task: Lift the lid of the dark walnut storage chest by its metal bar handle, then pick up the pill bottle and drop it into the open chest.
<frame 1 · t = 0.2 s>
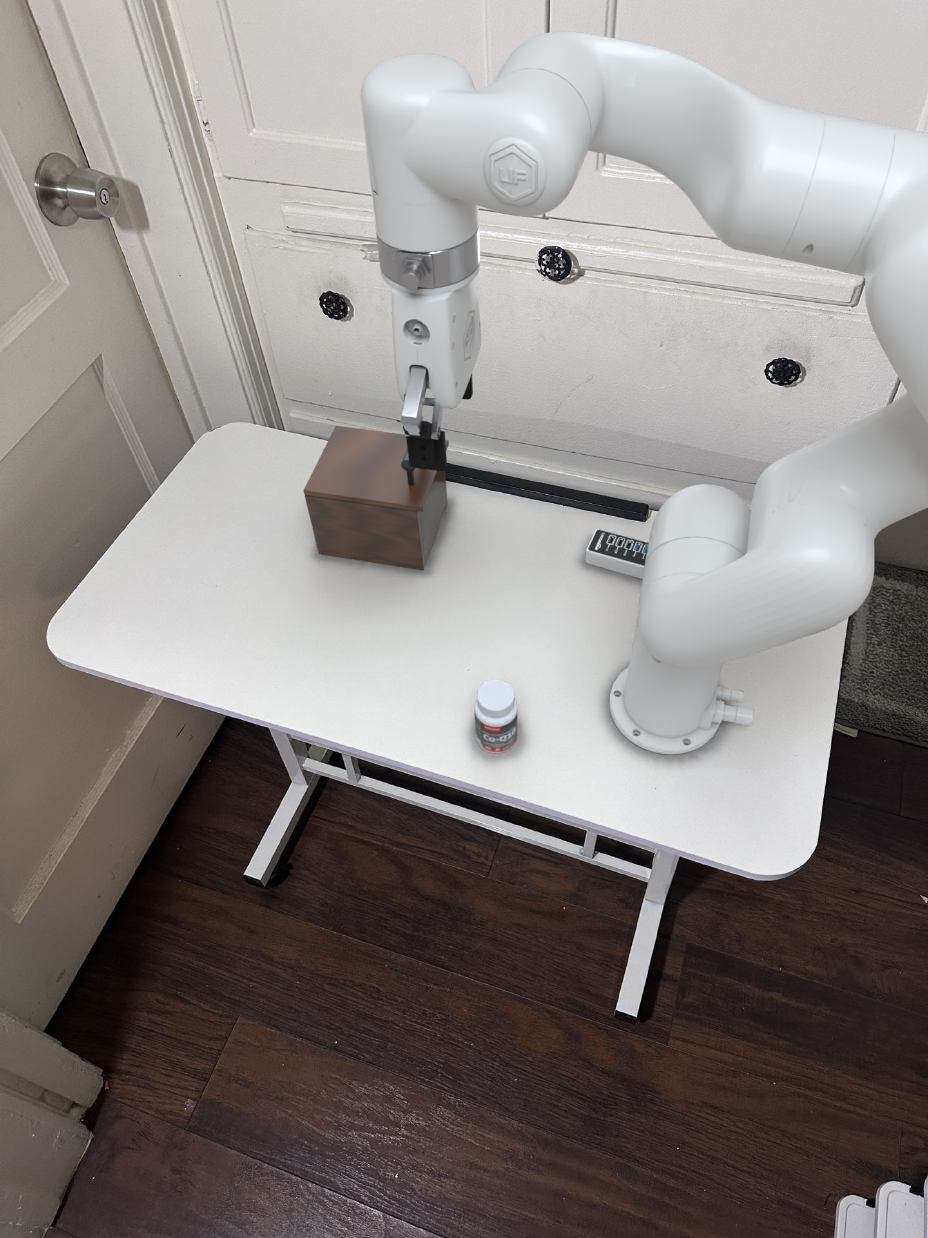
hand: (442, 430, 81), 37 cm above the table, tool pointing down, fingers open, 9 cm apart
multiport hub: (642, 566, 119), on the table
chest lid: (375, 454, 115), point 13 cm above the table, hinge at 0.0°
chest: (384, 528, 125), on the table
pill bottle: (496, 737, 104), on the table
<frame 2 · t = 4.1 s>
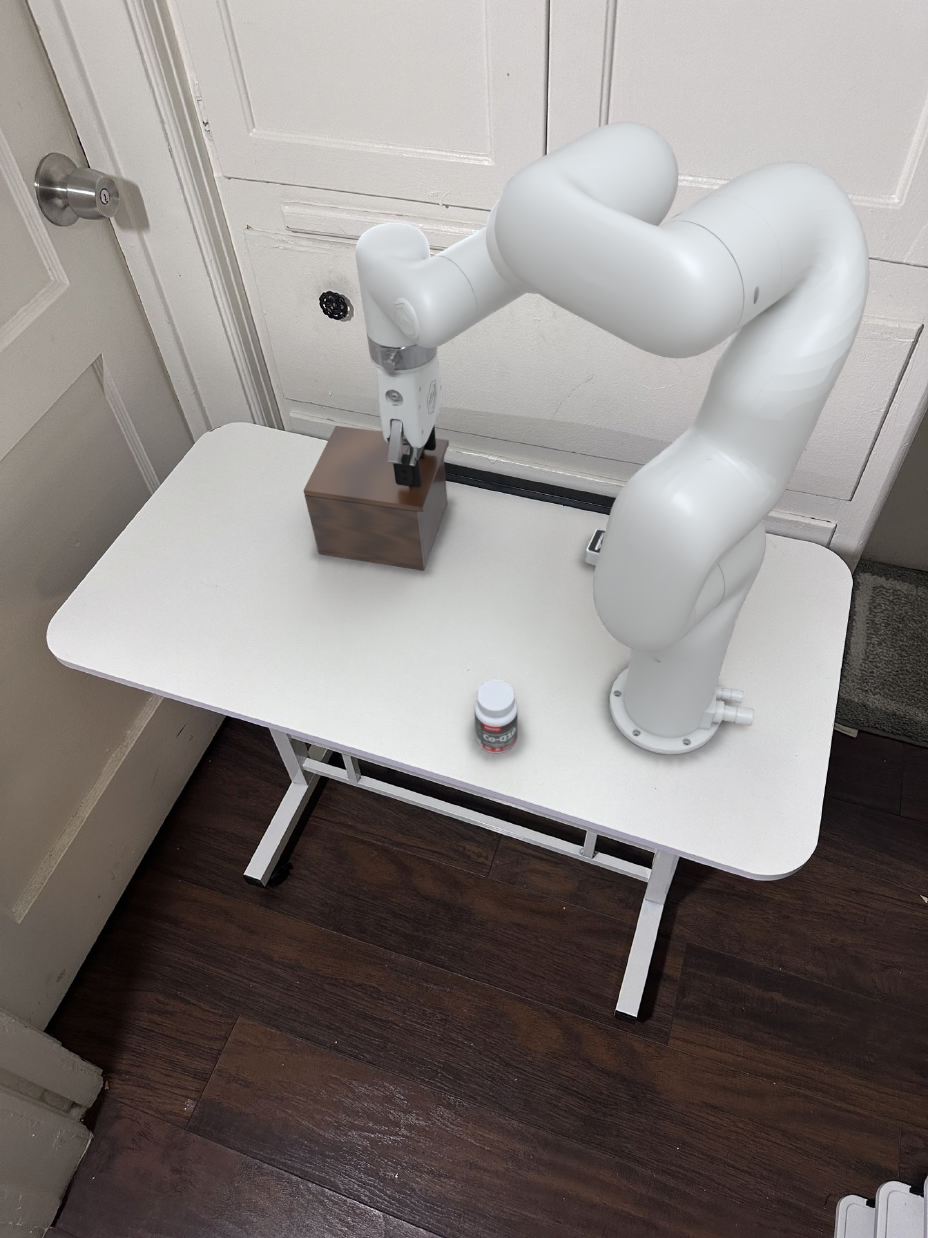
hand: (416, 464, 114), 12 cm above the table, tool pointing down, fingers closed on chest lid, 6 cm apart
chest lid: (375, 454, 115), point 13 cm above the table, hinge at 0.0°, touching gripper
everything else where it was.
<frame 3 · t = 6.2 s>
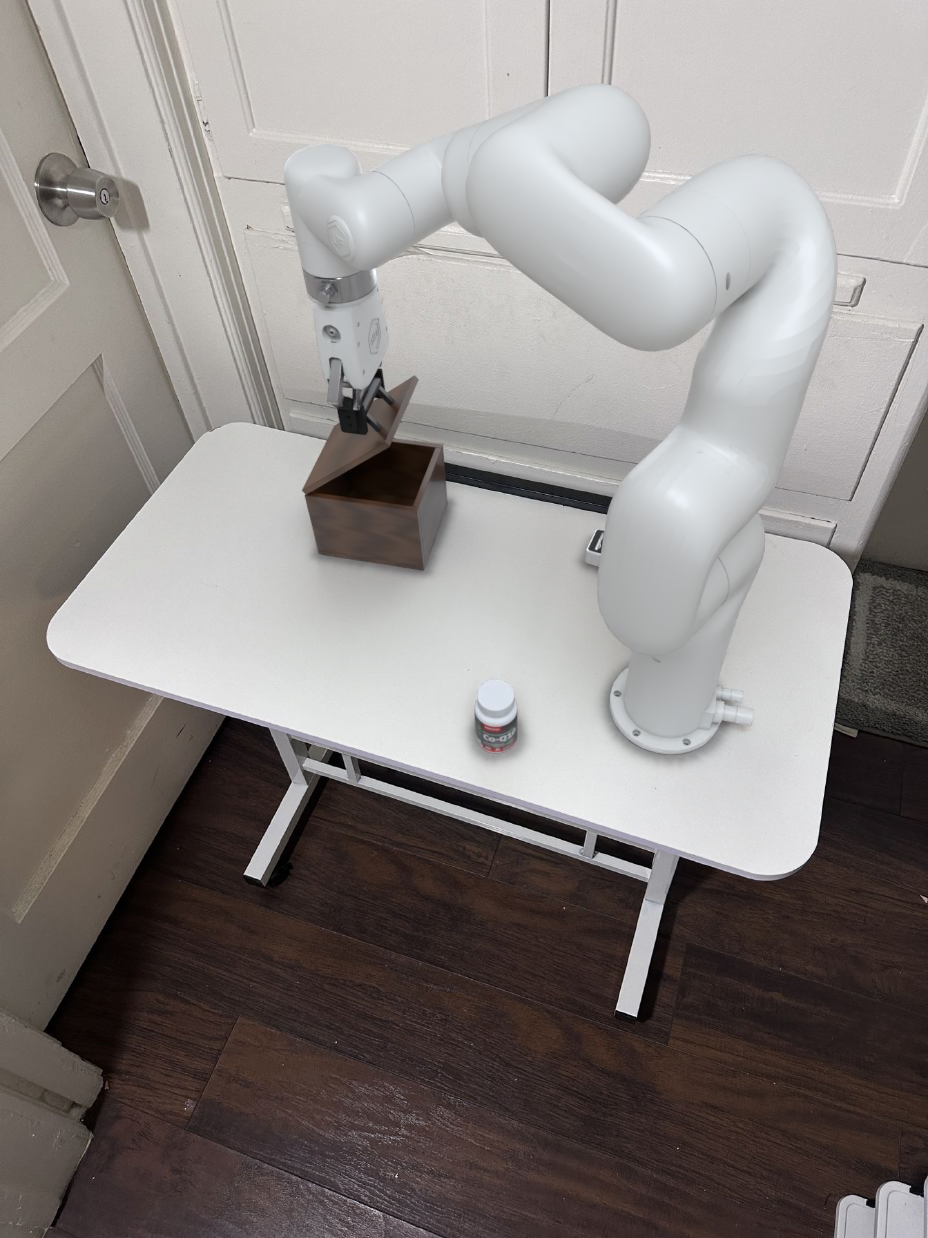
hand: (364, 412, 110), 20 cm above the table, tool pointing down, fingers closed on chest lid, 6 cm apart
chest lid: (347, 423, 112), point 18 cm above the table, hinge at 39.1°, touching gripper
everything else where it was.
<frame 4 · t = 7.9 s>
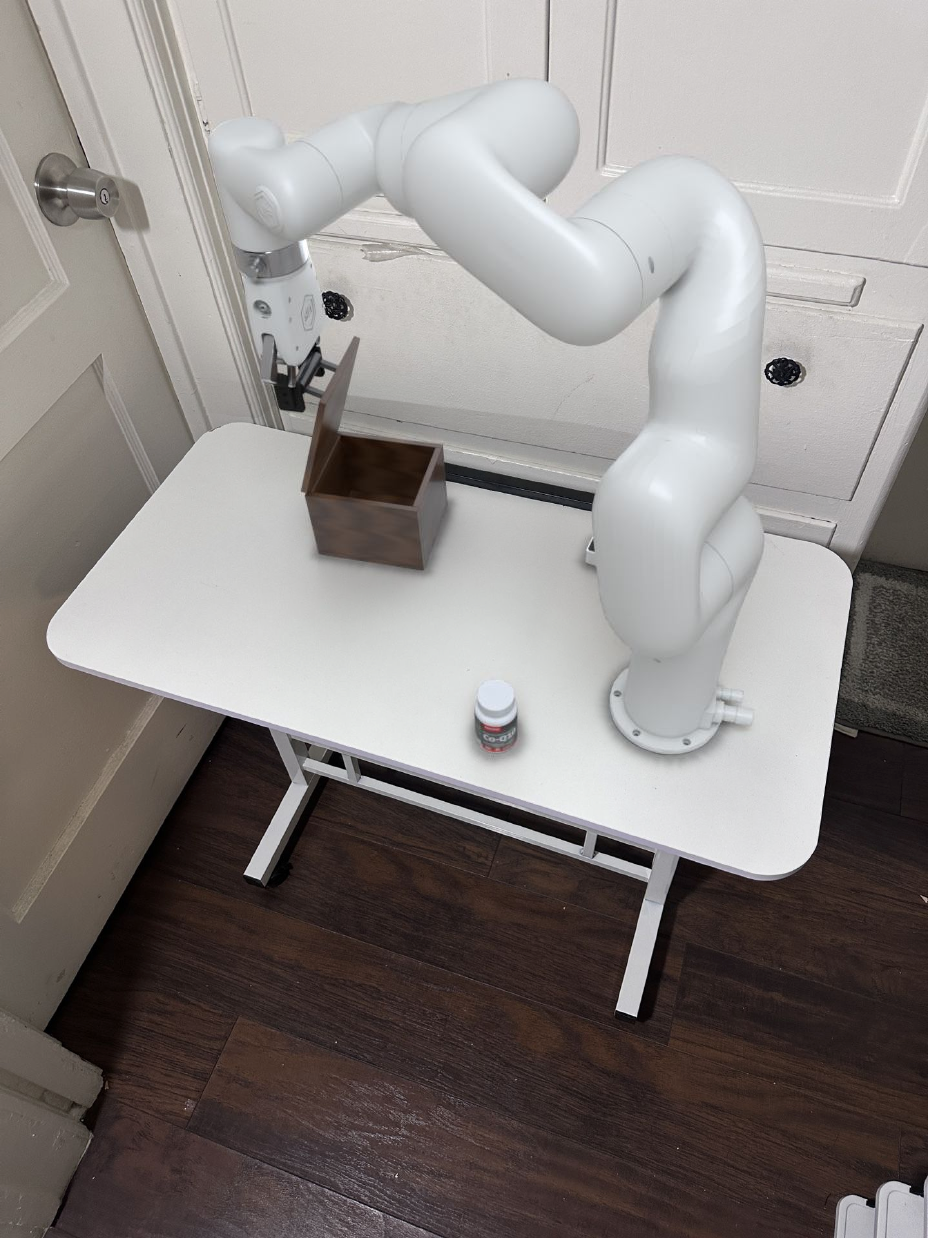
hand: (302, 390, 109), 22 cm above the table, tool pointing down, fingers closed on chest lid, 6 cm apart
chest lid: (313, 409, 111), point 19 cm above the table, hinge at 71.0°, touching gripper
everything else where it was.
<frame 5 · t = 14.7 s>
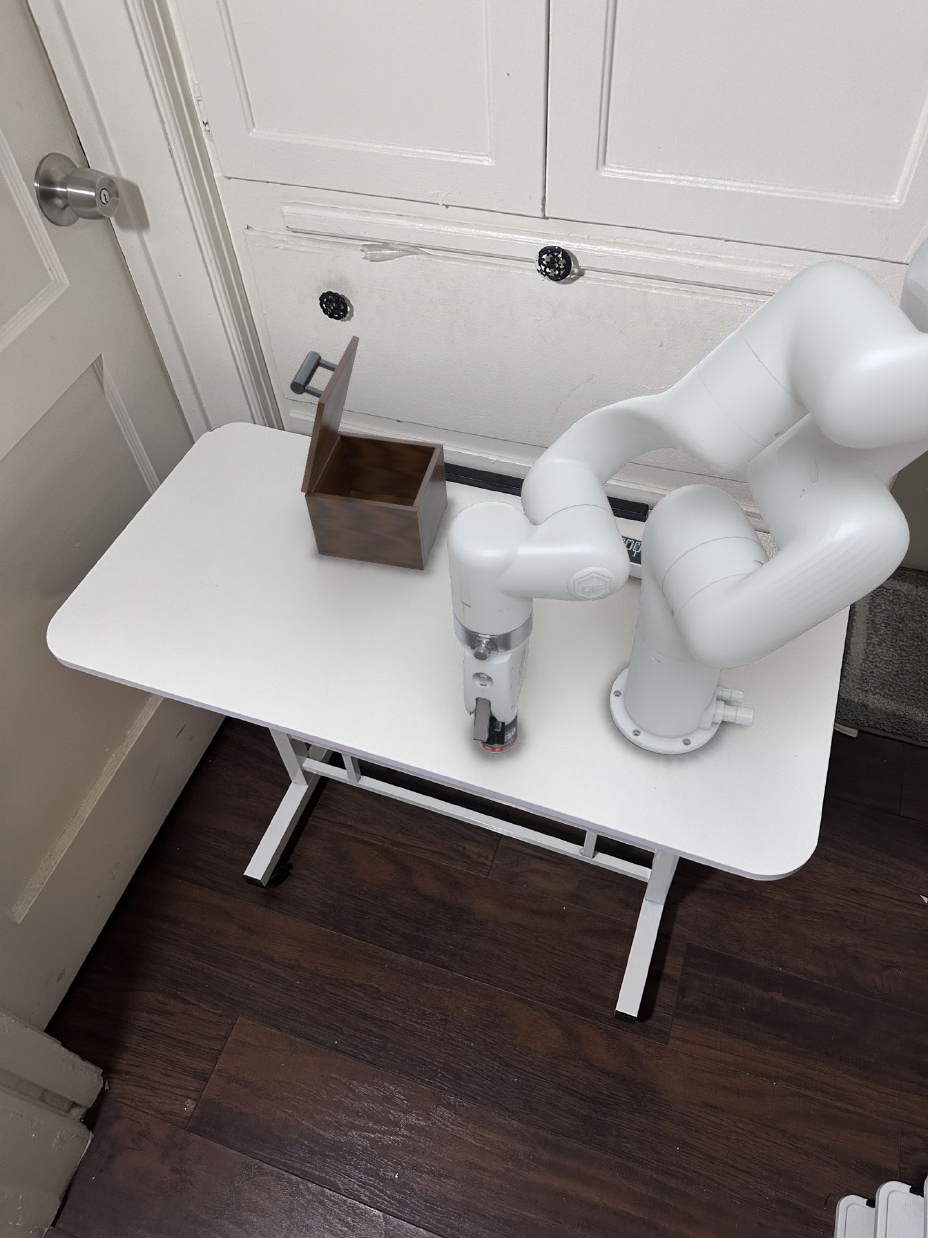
hand: (496, 718, 101), 4 cm above the table, tool pointing down, fingers closed on pill bottle, 4 cm apart
chest lid: (313, 409, 111), point 19 cm above the table, hinge at 71.4°
pill bottle: (496, 737, 104), on the table, touching gripper
everything else where it was.
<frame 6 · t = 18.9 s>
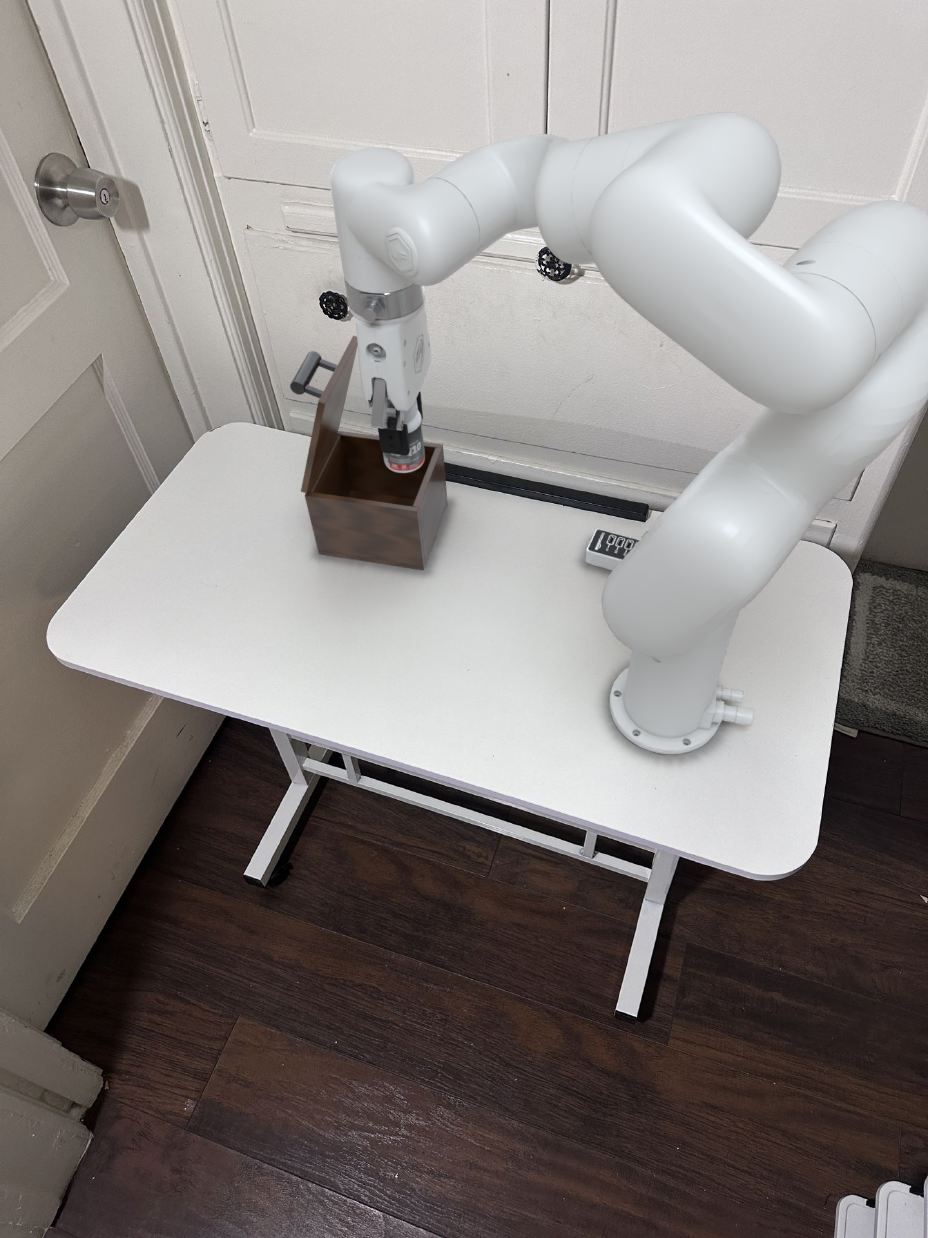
hand: (402, 434, 103), 23 cm above the table, tool pointing down, fingers closed on pill bottle, 4 cm apart
pill bottle: (405, 461, 106), point 19 cm above the table, touching gripper
everything else where it was.
when the fingers open (10 cm above the table, at t = 23.1 s): pill bottle drops 5 cm, resting on chest.
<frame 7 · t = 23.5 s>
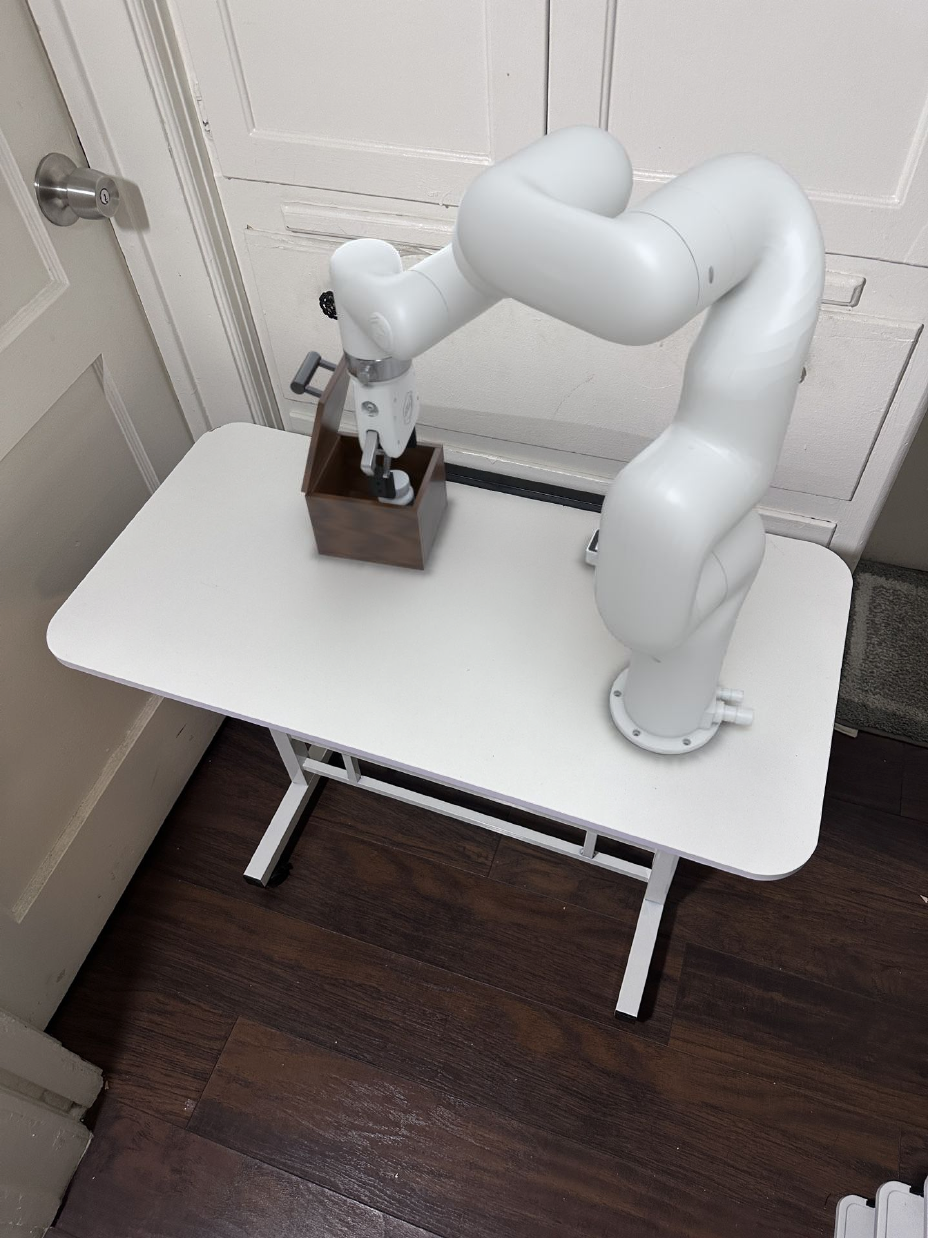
hand: (394, 470, 116), 11 cm above the table, tool pointing down, fingers open, 9 cm apart
pill bottle: (401, 528, 124), point 1 cm above the table, touching chest
everything else where it was.
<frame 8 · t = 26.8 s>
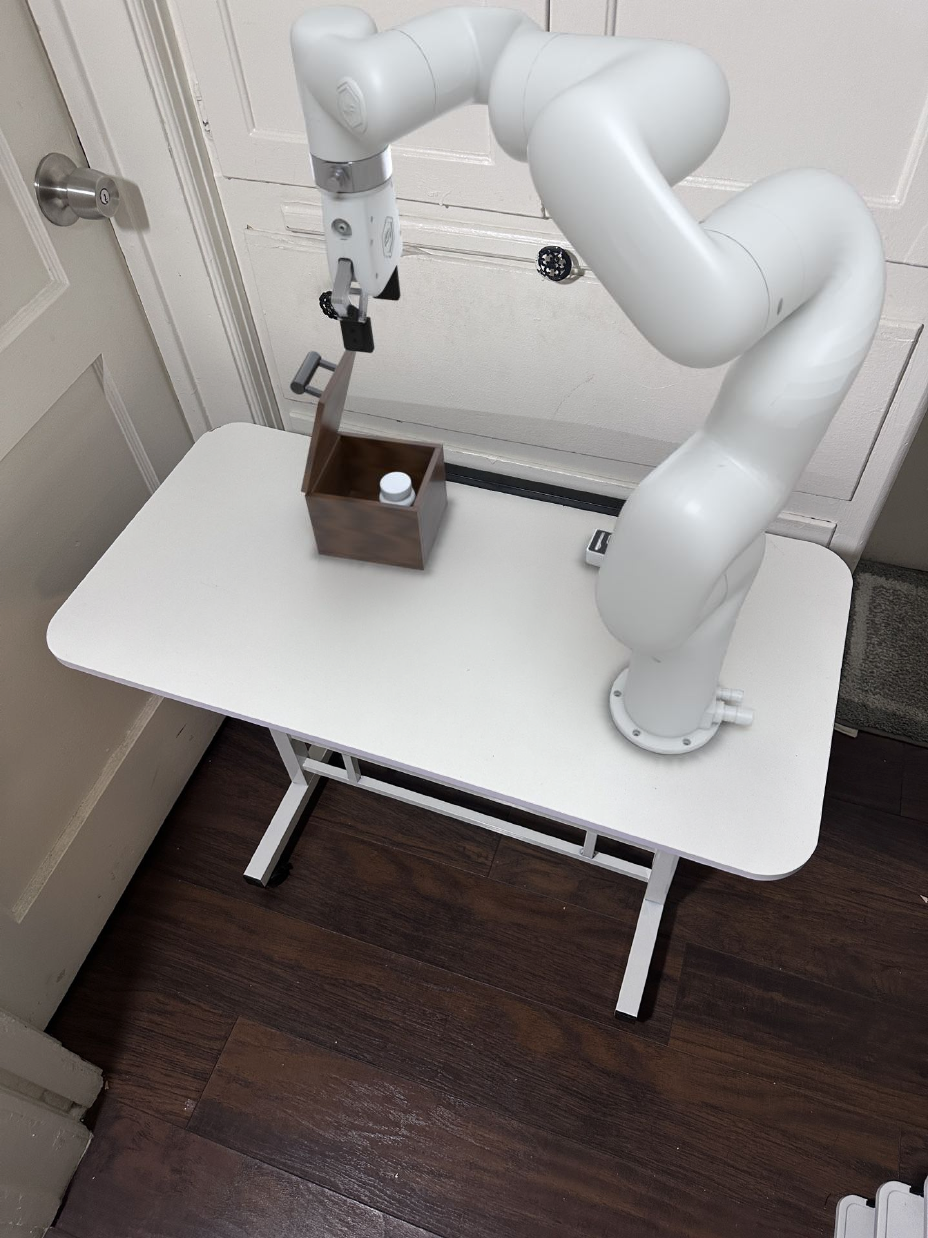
hand: (373, 323, 99), 32 cm above the table, tool pointing down, fingers open, 9 cm apart
nothing on the table moved.
at the end: chest lid at +71° (first picture: +0°); pill bottle inside the target area in the chest (2.6 cm from its centre), point 0.6 cm above the chest's base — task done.
